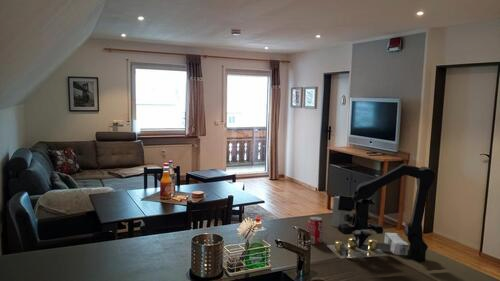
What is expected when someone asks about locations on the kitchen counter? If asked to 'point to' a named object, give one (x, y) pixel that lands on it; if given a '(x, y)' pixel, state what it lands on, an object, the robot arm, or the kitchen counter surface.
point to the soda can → (315, 229)
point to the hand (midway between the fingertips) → (358, 247)
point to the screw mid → (353, 244)
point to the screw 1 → (341, 248)
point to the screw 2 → (377, 245)
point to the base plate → (357, 252)
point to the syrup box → (396, 244)
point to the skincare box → (338, 214)
